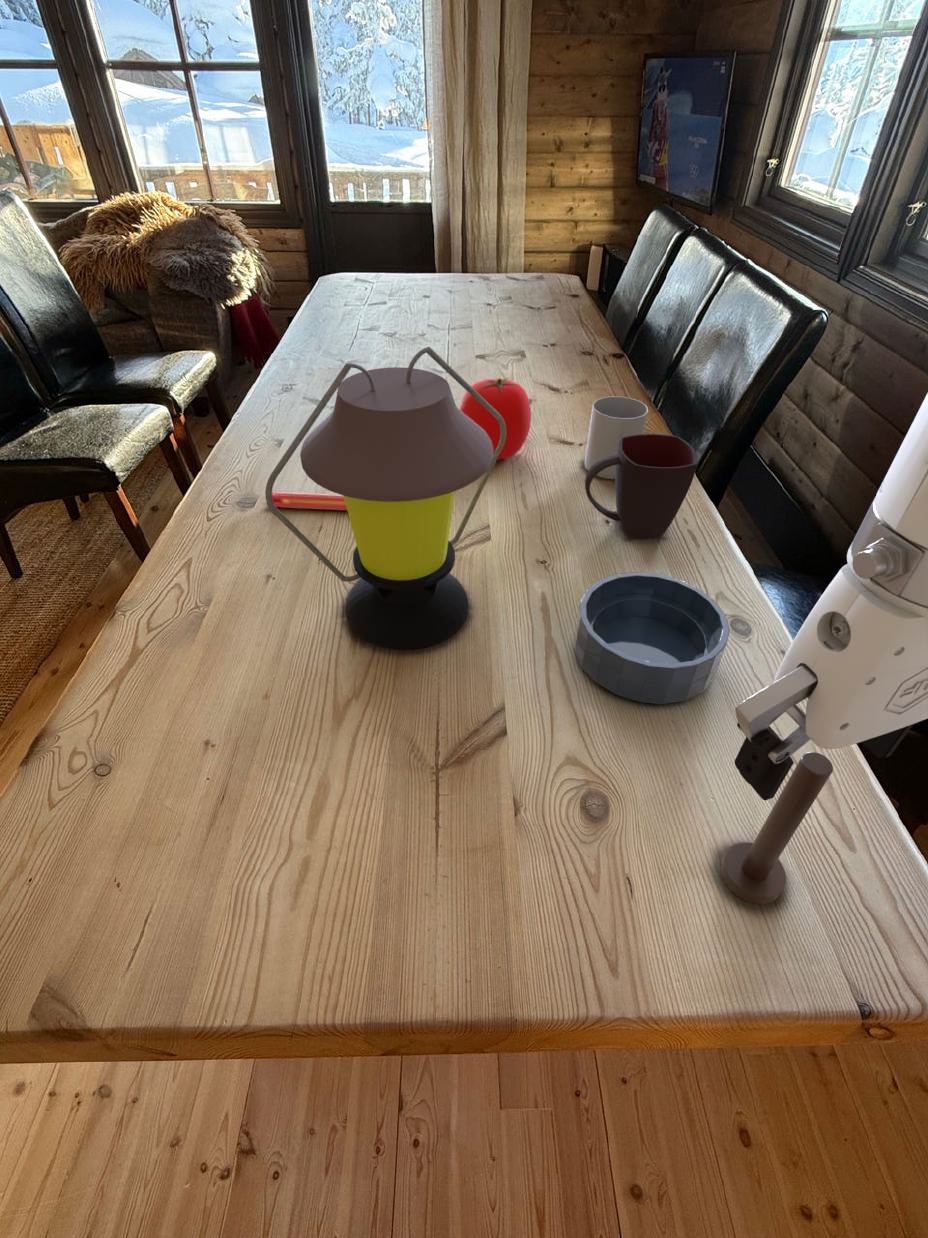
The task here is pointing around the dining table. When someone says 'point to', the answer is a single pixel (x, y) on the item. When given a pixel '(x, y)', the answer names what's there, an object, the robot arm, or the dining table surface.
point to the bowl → (650, 637)
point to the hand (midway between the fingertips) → (811, 761)
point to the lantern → (397, 495)
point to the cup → (612, 428)
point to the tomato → (508, 404)
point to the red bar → (309, 501)
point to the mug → (647, 482)
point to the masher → (775, 835)
